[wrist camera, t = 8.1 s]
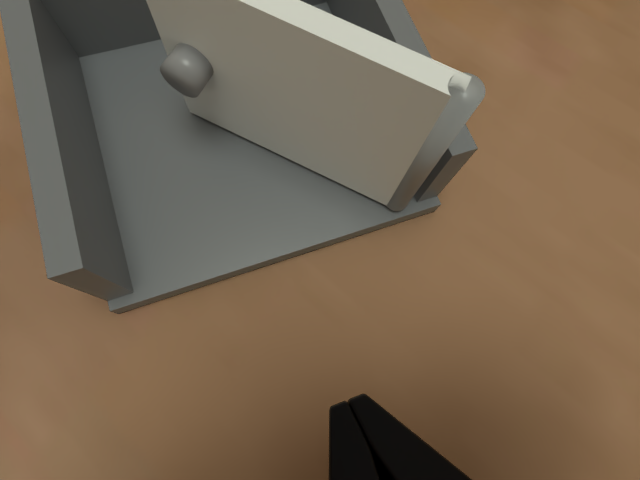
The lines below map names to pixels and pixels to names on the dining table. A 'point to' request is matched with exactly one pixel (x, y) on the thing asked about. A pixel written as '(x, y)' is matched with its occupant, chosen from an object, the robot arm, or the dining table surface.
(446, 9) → the dining table surface
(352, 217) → the grey open box
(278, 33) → the side door
